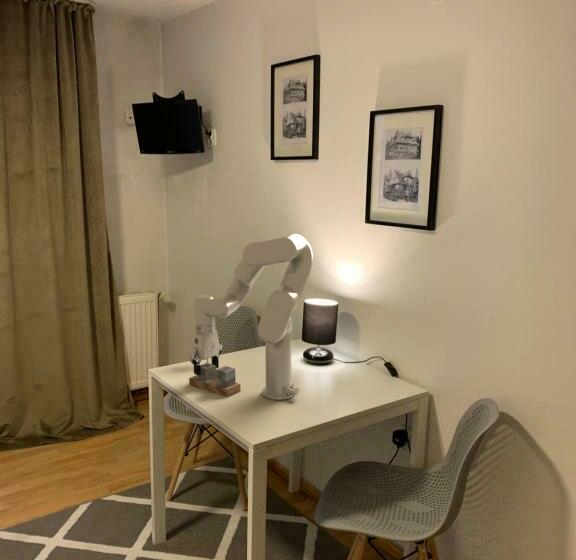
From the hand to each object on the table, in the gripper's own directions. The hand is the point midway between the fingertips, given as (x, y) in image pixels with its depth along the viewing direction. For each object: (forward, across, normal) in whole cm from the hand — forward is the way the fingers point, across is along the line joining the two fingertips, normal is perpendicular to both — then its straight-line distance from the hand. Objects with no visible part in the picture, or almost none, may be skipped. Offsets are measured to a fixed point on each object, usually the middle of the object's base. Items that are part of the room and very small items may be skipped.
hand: (206, 371), depth 216 cm
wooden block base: (+6, 0, -4) cm, 7 cm away
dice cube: (+3, 0, 0) cm, 3 cm away
